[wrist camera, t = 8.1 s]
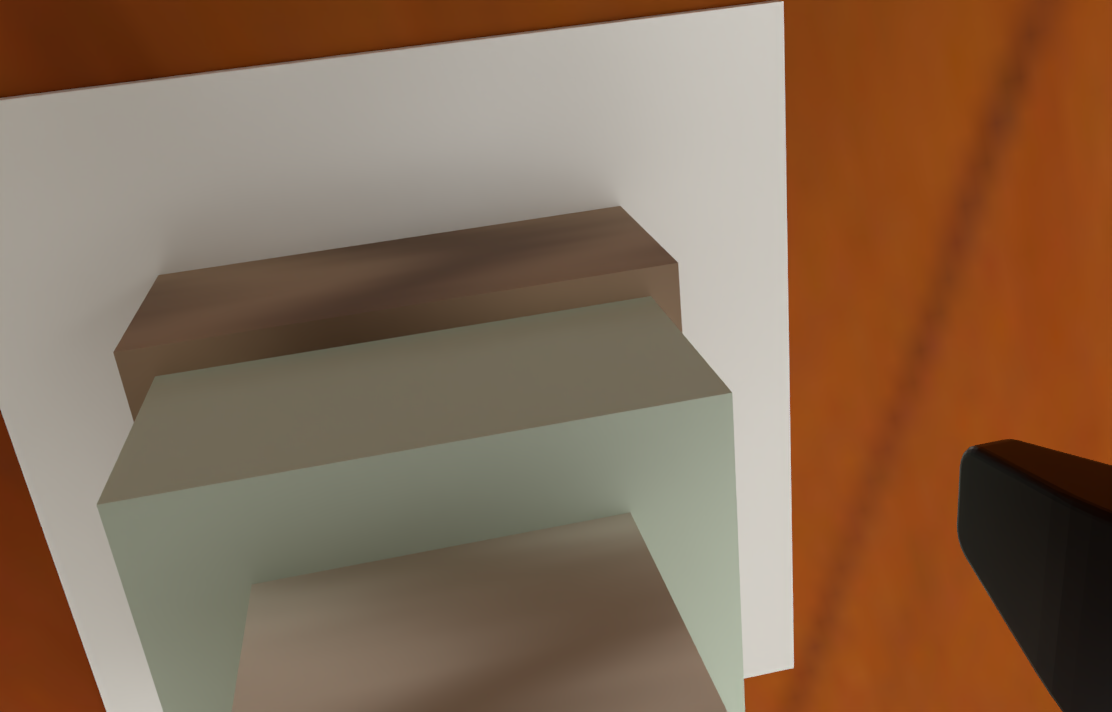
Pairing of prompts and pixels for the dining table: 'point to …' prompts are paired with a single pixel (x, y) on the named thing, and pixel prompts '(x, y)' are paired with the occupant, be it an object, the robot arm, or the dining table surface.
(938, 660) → the dining table surface
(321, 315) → the walnut block
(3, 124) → the board
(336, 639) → the cream block
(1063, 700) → the robot arm
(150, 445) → the sage block
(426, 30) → the dining table surface
